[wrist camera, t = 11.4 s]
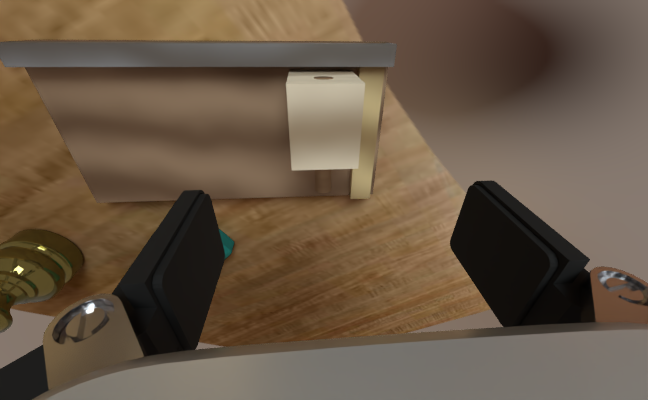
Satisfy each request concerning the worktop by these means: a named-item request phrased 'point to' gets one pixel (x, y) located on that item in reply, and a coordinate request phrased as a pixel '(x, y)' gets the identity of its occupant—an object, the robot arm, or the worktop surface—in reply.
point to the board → (195, 113)
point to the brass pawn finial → (34, 269)
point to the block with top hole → (324, 121)
